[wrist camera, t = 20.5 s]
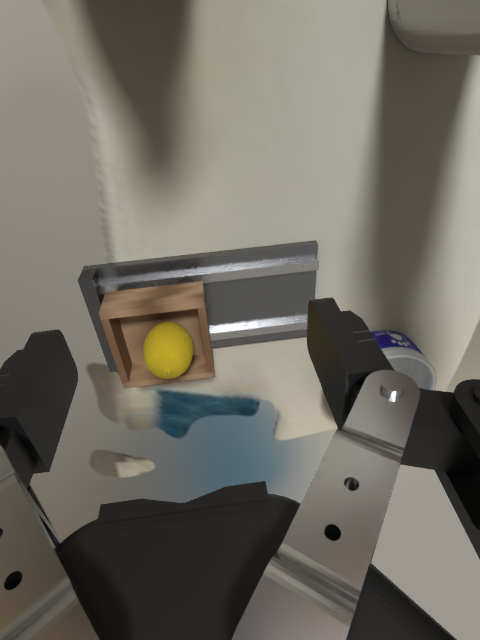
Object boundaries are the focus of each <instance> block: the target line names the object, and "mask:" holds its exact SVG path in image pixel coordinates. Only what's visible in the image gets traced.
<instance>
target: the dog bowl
mask: <svg viewBox="0 0 480 640" xmlns="http://www.w3.org/2000/svg"><path fill="white" fill-rule="evenodd" d="M371 334H372V335H373V337H374V340H376V342H377V343H378V345H379V346H380V348H381V350H382V351H383V353H384V354H385V356H386V358H387V359H388V361H389V362H390V364H391V365H392V367H393V369H394V370H395V371H397V372H400V373H403V374H405V375H407V376H409V377H410V378H411V379H413V380H414V381H415V382H416V383H417V385H418V387H419V388H422V389H427V390H434V388H435V385H436V373H435V370H434V368H433V366H432V365H431V364H430V362H429V361H428V360H427V359H426V357H425V356H424V355H423V354H422V352H421V351H420V350H419V349H418V348H417V346H416V345H415V344H414V343H413V342H412V341H411V340H410V339H409V338H408V337H407V336H405V335H403V334H401V333H398V332H394V331H374V332H371Z"/></svg>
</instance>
